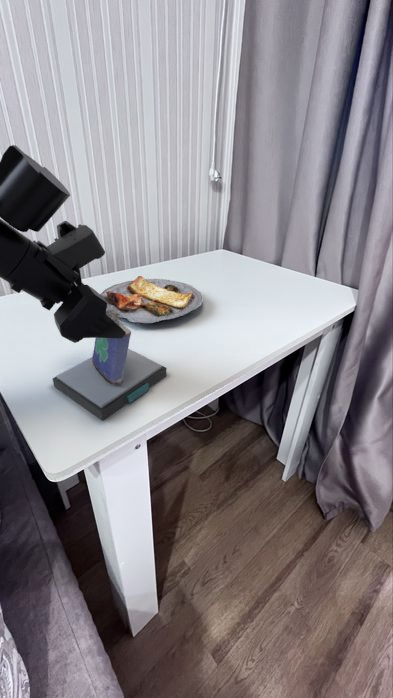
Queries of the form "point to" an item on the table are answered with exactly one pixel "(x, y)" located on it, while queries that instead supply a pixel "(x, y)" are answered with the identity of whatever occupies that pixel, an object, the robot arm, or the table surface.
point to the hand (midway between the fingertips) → (112, 321)
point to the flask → (111, 353)
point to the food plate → (152, 299)
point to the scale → (103, 396)
